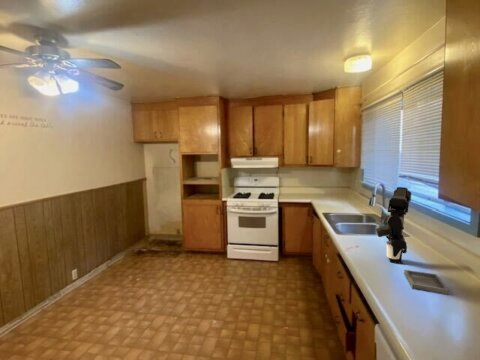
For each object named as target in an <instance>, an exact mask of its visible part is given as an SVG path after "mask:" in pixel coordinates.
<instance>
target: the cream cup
mask: <svg viewBox="0 0 480 360" xmlns="http://www.w3.org/2000/svg"><path fill="white" fill-rule="evenodd" d="M389 242H390V241H389V240H388V241H386V257H387V258H388V257H389V258H391V259H399V258H400V253H401V250H400V252H399V253H398V254H397V256H396V257H394V256H393V248H392V245H390V243H389ZM389 258H388V259H389Z"/></svg>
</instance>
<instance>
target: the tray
mask: <svg viewBox="0 0 480 360" xmlns="http://www.w3.org/2000/svg"><path fill="white" fill-rule="evenodd" d="M403 271H404V272H403V274H404V276H405V278H406V280H407V282H408V283H409V285H410V288H411V289H412V290H418V291H422V292H429V293H435V294H440V295H441V294H442V295H449V292H450V289H448V287H447V286H446V284H445V283H444V282H443V281H442V279H441V278H440V277H439V275H438V274H436V273H431V272H425V271H424V272H423V271H416V270H410V269H404V270H403Z"/></svg>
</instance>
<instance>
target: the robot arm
mask: <svg viewBox="0 0 480 360" xmlns="http://www.w3.org/2000/svg"><path fill="white" fill-rule="evenodd" d="M408 189H409V188H407V187H404V186H398V187H396V189H394V191H393V196H392V197H391V198H390V199H389V200H388V207H387V213H390V216H389V217H388V219H387V226H383V227H378V228H375V230H376V233H377V236H378V238H383V237H386V239H387V240H388V241H390V242H389V243H390V245H392V248H393V256H394V257H396V256H397V254H398V253H399V252H400V250H401V253H400V258H399V259H391V258H389V257H387V259H388V260H389V262H390V263H393V264H394V263H395V264H400V265H403V264H404V262H403V260H402V259H403V254H407V251H408V250H407V249H408V245H407V242H406V239H405V237H404V234H403V231H404V224H405V215H406V214H408V213H409V206H410V202H411V201H412V191H410V190H408Z"/></svg>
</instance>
